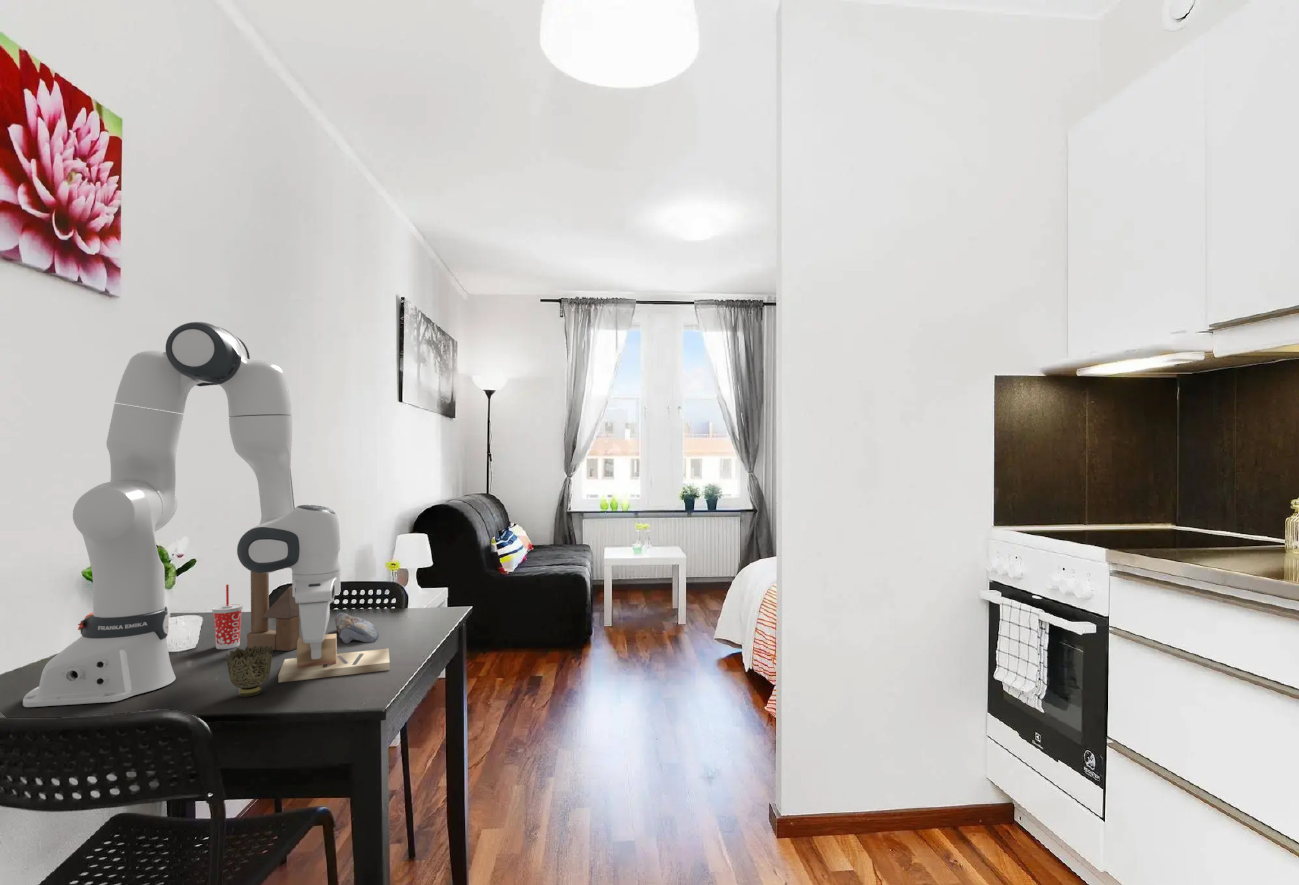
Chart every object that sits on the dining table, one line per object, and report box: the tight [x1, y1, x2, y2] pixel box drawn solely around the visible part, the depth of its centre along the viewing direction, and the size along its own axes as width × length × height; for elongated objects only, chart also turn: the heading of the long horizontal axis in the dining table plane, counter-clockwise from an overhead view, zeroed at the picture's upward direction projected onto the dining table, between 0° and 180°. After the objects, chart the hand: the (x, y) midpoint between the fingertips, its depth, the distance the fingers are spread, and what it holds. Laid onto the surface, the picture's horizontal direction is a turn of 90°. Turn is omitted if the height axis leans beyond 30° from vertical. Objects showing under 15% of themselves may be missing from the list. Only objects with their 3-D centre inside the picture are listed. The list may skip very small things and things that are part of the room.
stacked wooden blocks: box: [246, 571, 301, 652], centre depth 163 cm, size 4×11×18 cm, turn 80°
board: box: [277, 648, 391, 683], centre depth 147 cm, size 20×11×2 cm, turn 111°
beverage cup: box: [211, 584, 244, 650], centre depth 165 cm, size 6×6×14 cm
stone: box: [334, 611, 380, 644], centre depth 173 cm, size 17×5×10 cm
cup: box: [225, 646, 274, 698], centre depth 132 cm, size 8×7×8 cm
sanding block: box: [296, 633, 338, 668], centre depth 146 cm, size 7×4×5 cm, turn 111°
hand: (317, 654), depth 146 cm, fingers closed on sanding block, 4 cm apart
